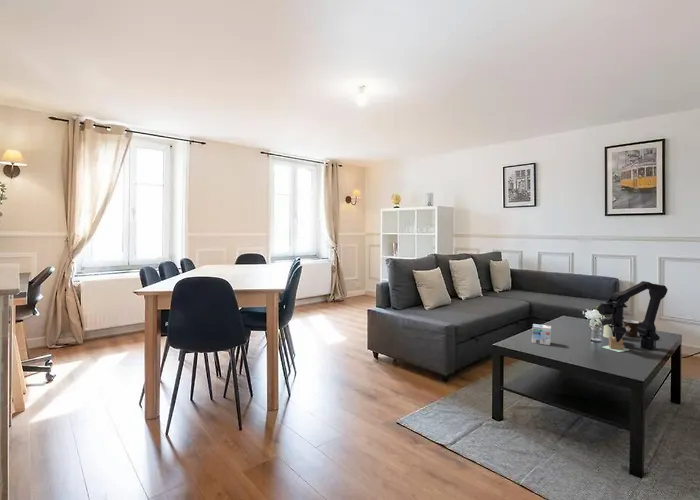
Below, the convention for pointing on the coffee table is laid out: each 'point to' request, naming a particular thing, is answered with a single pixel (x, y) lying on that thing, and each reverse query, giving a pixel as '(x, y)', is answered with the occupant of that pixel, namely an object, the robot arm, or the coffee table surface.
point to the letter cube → (615, 343)
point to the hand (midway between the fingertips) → (615, 339)
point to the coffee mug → (631, 328)
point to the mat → (616, 349)
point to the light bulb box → (541, 334)
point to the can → (607, 331)
